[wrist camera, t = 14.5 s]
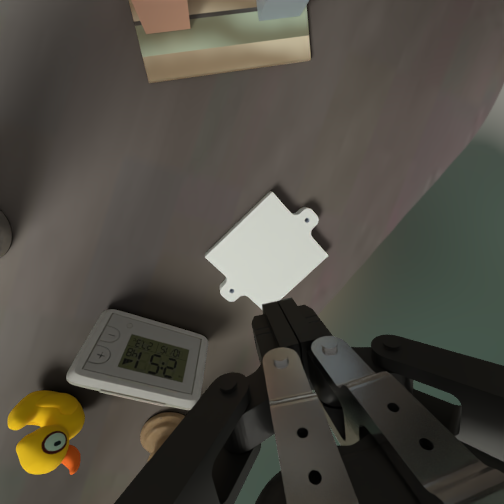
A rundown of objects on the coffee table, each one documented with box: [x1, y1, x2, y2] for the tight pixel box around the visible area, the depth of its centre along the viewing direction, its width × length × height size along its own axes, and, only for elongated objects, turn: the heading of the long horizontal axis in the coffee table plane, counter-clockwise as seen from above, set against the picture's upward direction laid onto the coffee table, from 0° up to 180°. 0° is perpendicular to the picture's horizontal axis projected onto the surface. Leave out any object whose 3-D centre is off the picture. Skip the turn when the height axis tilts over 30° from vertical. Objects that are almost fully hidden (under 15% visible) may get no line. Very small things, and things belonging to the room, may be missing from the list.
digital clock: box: [66, 309, 208, 410], centre depth 37 cm, size 16×9×11 cm, turn 54°
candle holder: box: [140, 412, 185, 461], centre depth 38 cm, size 9×9×20 cm
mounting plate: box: [205, 191, 328, 309], centre depth 41 cm, size 18×13×2 cm
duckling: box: [8, 390, 85, 475], centre depth 38 cm, size 11×5×10 cm, turn 47°
